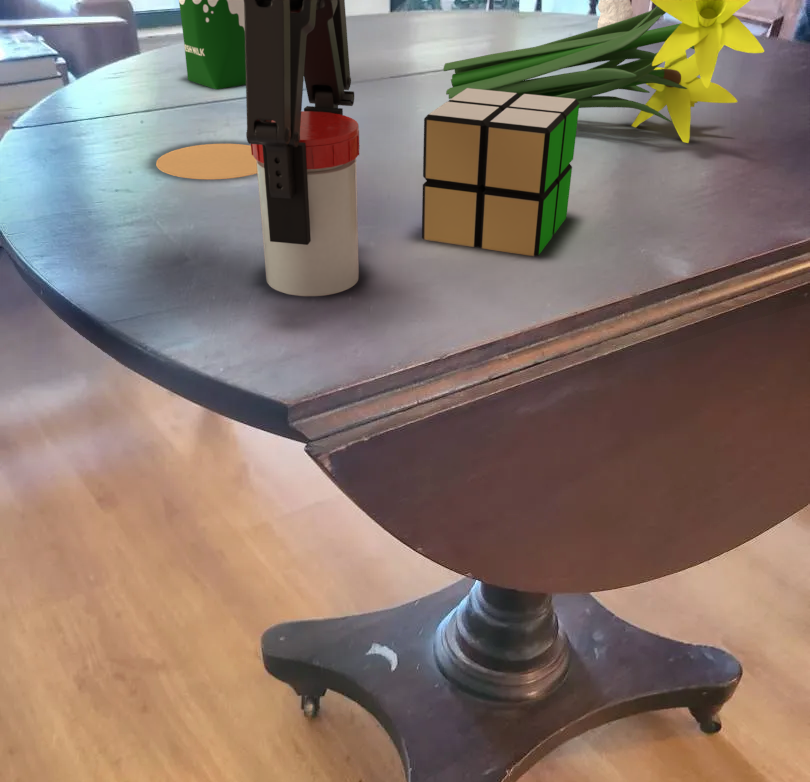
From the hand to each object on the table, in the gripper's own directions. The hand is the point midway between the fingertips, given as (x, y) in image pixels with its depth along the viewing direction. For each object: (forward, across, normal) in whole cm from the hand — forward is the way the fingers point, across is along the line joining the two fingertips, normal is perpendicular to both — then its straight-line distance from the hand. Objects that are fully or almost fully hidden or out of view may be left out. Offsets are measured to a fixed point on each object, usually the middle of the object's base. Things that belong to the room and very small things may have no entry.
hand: (309, 218), depth 68 cm
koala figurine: (+5, +97, -18) cm, 99 cm away
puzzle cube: (+5, +14, -12) cm, 19 cm away
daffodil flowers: (+5, +46, -17) cm, 49 cm away
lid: (-6, 0, 0) cm, 6 cm away
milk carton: (+5, +59, +30) cm, 66 cm away
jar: (+5, 0, 0) cm, 5 cm away
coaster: (+5, +26, +18) cm, 32 cm away
